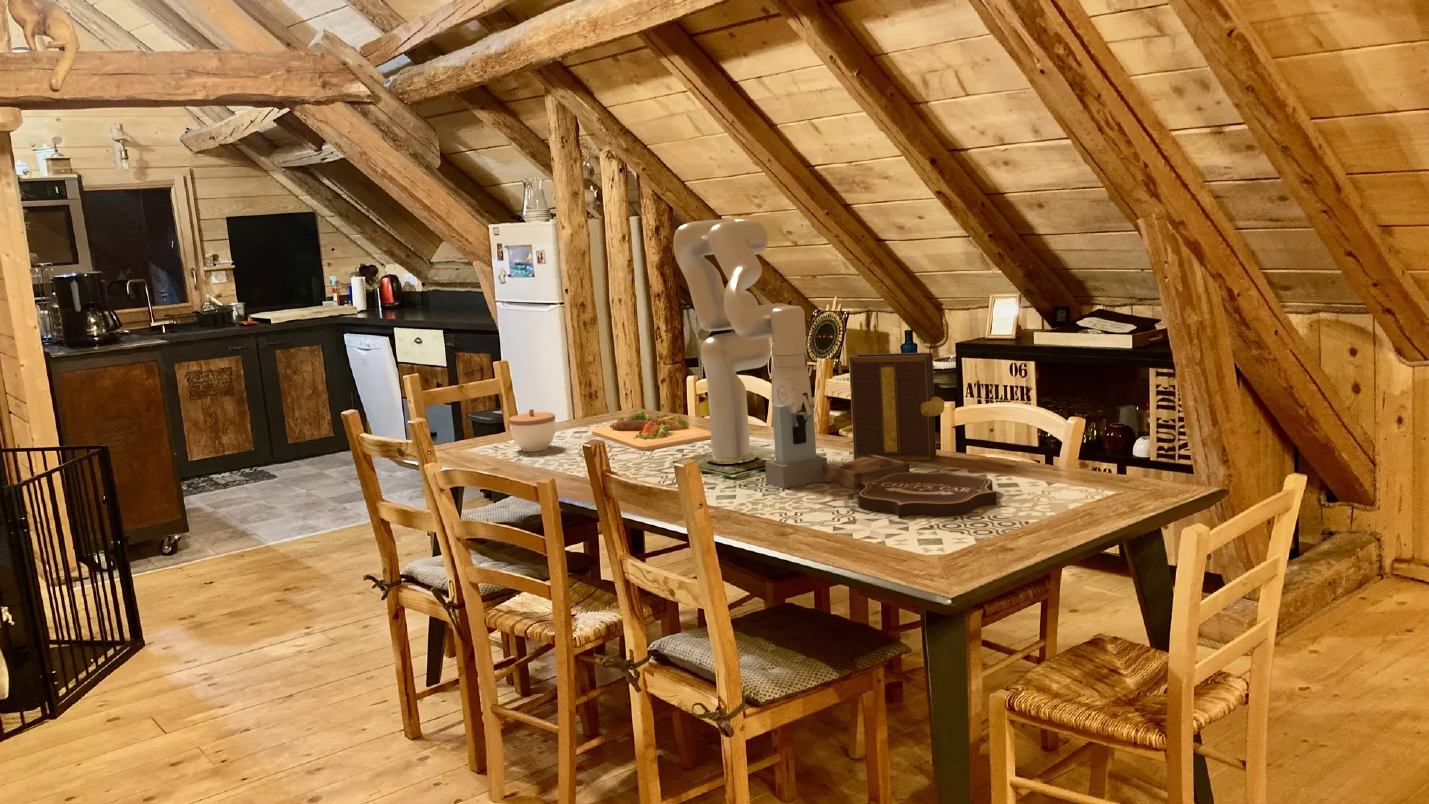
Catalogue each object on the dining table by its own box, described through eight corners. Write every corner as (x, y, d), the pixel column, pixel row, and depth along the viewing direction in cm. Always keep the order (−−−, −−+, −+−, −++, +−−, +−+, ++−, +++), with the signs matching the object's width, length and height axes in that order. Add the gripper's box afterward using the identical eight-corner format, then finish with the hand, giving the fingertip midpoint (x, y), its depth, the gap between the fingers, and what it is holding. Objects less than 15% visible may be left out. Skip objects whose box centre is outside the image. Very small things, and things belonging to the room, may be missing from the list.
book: (851, 461, 280) (846, 358, 275) (858, 453, 288) (853, 353, 283) (943, 462, 272) (939, 356, 268) (948, 454, 280) (944, 351, 276)
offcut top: (843, 472, 261) (842, 463, 261) (864, 466, 266) (863, 456, 266) (858, 475, 258) (857, 465, 258) (879, 468, 263) (879, 459, 262)
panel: (776, 466, 262) (772, 405, 260) (809, 459, 266) (805, 399, 264) (783, 468, 259) (779, 407, 257) (816, 461, 264) (812, 401, 261)
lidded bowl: (567, 445, 323) (563, 406, 321) (536, 455, 313) (532, 414, 311) (533, 442, 330) (529, 404, 328) (502, 452, 320) (498, 412, 318)
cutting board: (718, 439, 320) (716, 412, 318) (642, 453, 308) (640, 425, 307) (660, 423, 350) (658, 399, 348) (589, 435, 338) (586, 410, 337)
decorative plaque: (828, 500, 235) (885, 466, 261) (829, 514, 236) (885, 479, 261) (972, 511, 220) (1017, 474, 245) (973, 526, 220) (1018, 488, 246)
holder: (766, 483, 264) (765, 461, 263) (809, 474, 270) (808, 453, 269) (784, 488, 258) (782, 466, 257) (828, 479, 263) (826, 457, 263)
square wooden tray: (823, 480, 263) (822, 465, 262) (874, 469, 270) (873, 454, 269) (858, 490, 252) (857, 474, 251) (909, 478, 259) (909, 463, 258)
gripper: (756, 361, 264) (761, 440, 267) (797, 366, 250) (802, 450, 253) (784, 356, 268) (788, 435, 271) (825, 362, 254) (830, 444, 257)
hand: (795, 441), depth 262 cm, fingers closed on panel, 3 cm apart
